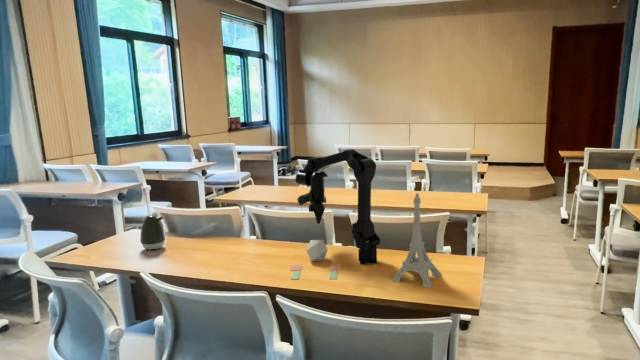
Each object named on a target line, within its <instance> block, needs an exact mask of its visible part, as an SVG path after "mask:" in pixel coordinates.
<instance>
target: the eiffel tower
mask: <svg viewBox="0 0 640 360" xmlns="http://www.w3.org/2000/svg"><path fill="white" fill-rule="evenodd" d="M421 203H422V201H421V198H420V195H419V192H416V193H415V196H414V198H413V202H412V204H413V205H414V213H413V214H414V215H413V225H412V226H413V227H412V235H411V236H412V237H411V241H410V243H409V247H410V248H409V250H408V252H407V256H406V258H405V260H404V261H402V262H401V264H402V266H401V267H400V269H399V270H398V271H397V272H396V274H395V276H394V278H392V280H391V282H397V283H400V282H401V281H402V280H403V278H402V277H403V275H404V274H405V273H406V272H411V271H414V272H416V273H417V274H419V275H420V277H421V280H422V286H421V287H425V288H430V289H431V287H433V283H432V281H431V278H430V275H429V274H430V273H429V270H430V272H431V276H433V277H440V276H441V275H442V272H440V271H439V270H438V269H439V268H437V267H436V265H434V263H433V262H432V258H429V256H428V253H427V251H426V249H425V246H424V245H425V242H423V233H422V225H421V211H420V210H421V208H420V204H421ZM416 255H417V256H416Z"/></svg>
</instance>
